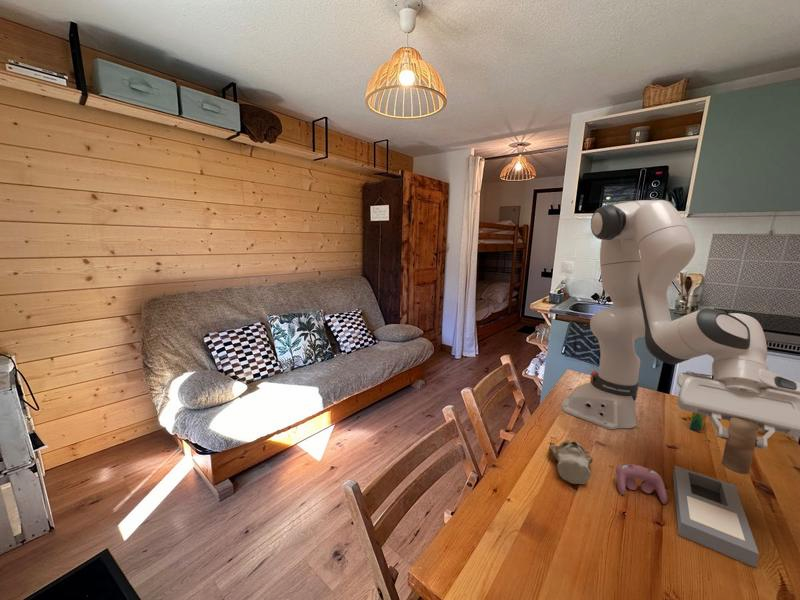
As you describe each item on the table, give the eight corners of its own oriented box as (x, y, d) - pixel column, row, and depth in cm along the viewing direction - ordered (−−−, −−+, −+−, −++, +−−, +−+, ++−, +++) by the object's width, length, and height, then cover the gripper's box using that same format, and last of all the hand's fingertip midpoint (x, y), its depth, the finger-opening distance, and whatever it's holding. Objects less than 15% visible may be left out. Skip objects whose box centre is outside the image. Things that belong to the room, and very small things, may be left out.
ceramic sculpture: (553, 450, 80) (550, 423, 93) (549, 483, 81) (547, 451, 95) (603, 463, 76) (593, 432, 89) (598, 497, 77) (588, 461, 91)
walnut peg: (723, 468, 67) (732, 423, 65) (720, 458, 70) (728, 415, 68) (751, 477, 64) (761, 430, 63) (746, 466, 68) (756, 421, 66)
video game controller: (660, 500, 78) (659, 469, 80) (670, 506, 74) (668, 472, 76) (613, 490, 81) (613, 459, 83) (619, 494, 77) (619, 462, 79)
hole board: (678, 535, 67) (681, 521, 67) (673, 475, 84) (675, 464, 84) (755, 567, 61) (759, 553, 60) (732, 496, 78) (735, 484, 77)
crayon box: (700, 433, 104) (707, 399, 102) (688, 429, 106) (695, 395, 104) (705, 425, 109) (711, 392, 107) (693, 421, 111) (699, 389, 109)
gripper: (680, 363, 76) (676, 419, 70) (816, 387, 64) (827, 457, 58) (675, 375, 80) (672, 429, 74) (803, 400, 68) (811, 467, 62)
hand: (741, 442), depth 66 cm, fingers closed on walnut peg, 4 cm apart
